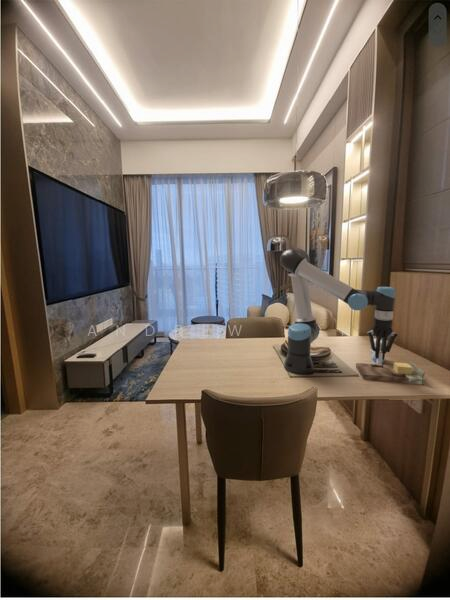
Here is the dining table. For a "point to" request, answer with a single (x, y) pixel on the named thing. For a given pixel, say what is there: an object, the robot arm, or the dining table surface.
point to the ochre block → (403, 368)
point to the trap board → (390, 373)
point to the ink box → (372, 353)
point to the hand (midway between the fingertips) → (378, 364)
